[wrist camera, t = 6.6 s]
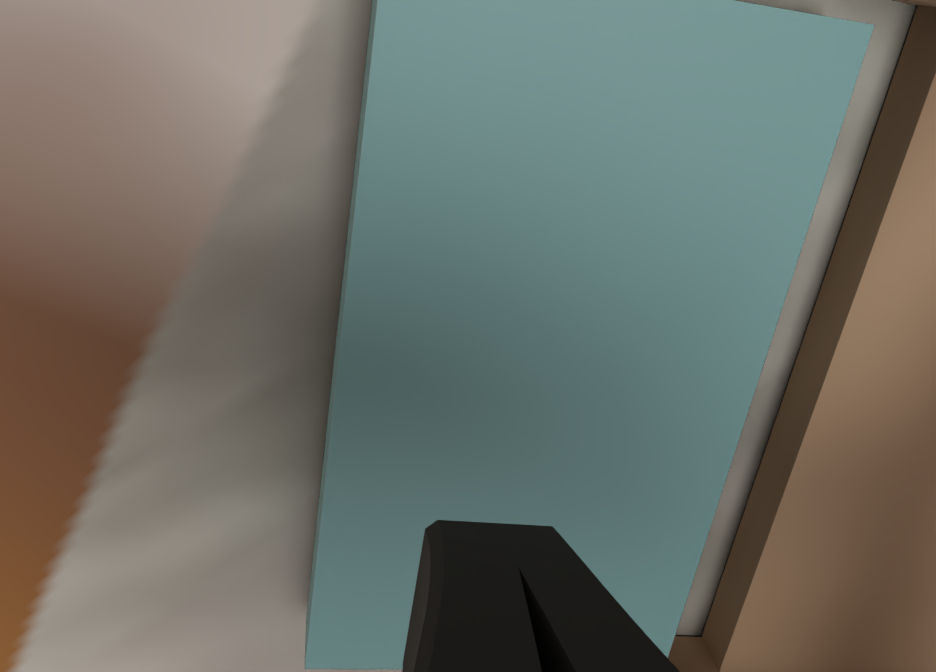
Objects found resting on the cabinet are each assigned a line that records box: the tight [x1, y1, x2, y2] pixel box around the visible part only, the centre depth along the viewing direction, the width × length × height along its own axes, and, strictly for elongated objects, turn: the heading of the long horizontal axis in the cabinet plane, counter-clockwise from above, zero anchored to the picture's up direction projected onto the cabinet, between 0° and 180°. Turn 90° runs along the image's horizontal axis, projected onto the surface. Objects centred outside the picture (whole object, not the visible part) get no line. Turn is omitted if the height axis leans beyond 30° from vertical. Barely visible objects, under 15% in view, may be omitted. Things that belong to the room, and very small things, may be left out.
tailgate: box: [305, 0, 874, 669], centre depth 15 cm, size 1×12×7 cm
